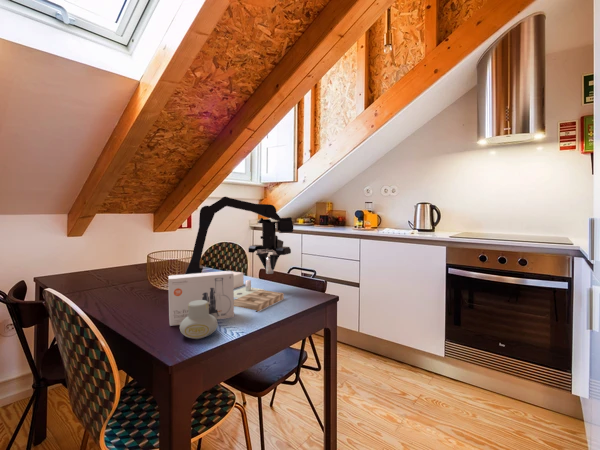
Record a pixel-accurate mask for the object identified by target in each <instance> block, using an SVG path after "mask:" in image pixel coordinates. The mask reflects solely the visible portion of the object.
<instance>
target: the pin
mask: <svg viewBox="0 0 600 450" xmlns="http://www.w3.org/2000/svg"><path fill="white" fill-rule="evenodd" d="M265 274H267V275H270V274H271V275H272V274H274V270H272V268H271V261H270V255H268V256H267V257H266V269H265Z"/></svg>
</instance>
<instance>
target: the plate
mask: <svg viewBox="0 0 600 450" xmlns="http://www.w3.org/2000/svg"><path fill="white" fill-rule="evenodd" d="M258 290H266V289H264V288H258V287H252V280H251V279H247V280H245V286H243V287H241V288H238V289H234V298H235V299H238V298H240V297H243V296H245V295H248V294H250V293H253V292H255V291H258Z"/></svg>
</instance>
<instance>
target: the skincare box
mask: <svg viewBox="0 0 600 450" xmlns="http://www.w3.org/2000/svg"><path fill="white" fill-rule="evenodd" d="M233 272H234V271H232V270H224V271H210V272H209V271H208V272H201V273H196V274H185V273H184V274H173V275H168V276H167V277H168V319H169V320H168V321H169V326H170V327H171V326H173V327H174V326H180V324H181V322H182V321H183V320H184V319H185V318H186V317H188V304H189V303H190V302H192V301H196V300H206V301H208V303H209V314H210V315H212V316H214V317H215V318H216V319H217V320H222V319H223V320H224V319H230V318H234V317H235V309H234V307H235V306H234V300H235V299H234V298H235V297H234V291H235V288H234V273H233Z"/></svg>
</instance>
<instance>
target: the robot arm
mask: <svg viewBox="0 0 600 450" xmlns="http://www.w3.org/2000/svg"><path fill="white" fill-rule="evenodd" d="M225 207H229V208H233V209H239V210H241V211H245V212H252V213H254V214H256V215H259V216H261V217H260V218H259V219H258V220H257V224H261V229H262V230H261V231H262V233H261V236H260V239H261V240H262V242H261V243H262V244H252V245H249V246H248V252H247V253H250V254H251V253H253V254H254V253H256V254H255V255H256V256H257V257H258V259H259V260H260V262H261V263H262V265H263V268H264V269H265V270H266V257H268V256H270V261H271V268H272V270H273V271H274V270H275V267H276V265H277V262H278V259H279V258H280V256H286V255H289V254H291V253H292V250H291V249H292V248H291V247H290V246H284V241H283V240H281V239H279V236H278V235H277V234H276V232H278V233H279V234H290V233H292V234H293V231H294V223H293V219H292V218H293V217H290V216H288V217H281V216H280V215H279V213H278V212H277V207H275V206H274V205H273V204H268V203H267V204H266V203H253V202H248V201H245V200H240V199H236V198H232V197H228V196H223V197H221V198H220V199H219V200H217V201H216V202H214V203H212V204H210V205H204V206H202V207H201V209H200V210H199V219H198V220H199V221H198V222H199V223H198V230H197V233H196V237H195V242H194V246H193V249H192V255H191V259H190V261H189V263H188V265H187V267H186V270H185V273H184V274H196V273H203V272H202V271H203V269H204V265H201V259H202V256H203V251H204V247H205V242H206V238H207V234H208V231H209V228H210V226H211V224H212V221H213V219H214V217H215V214H216V213H219V211H221V210H223V209H224V208H225ZM272 220H274V221H272ZM270 253H272V254H270Z"/></svg>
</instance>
